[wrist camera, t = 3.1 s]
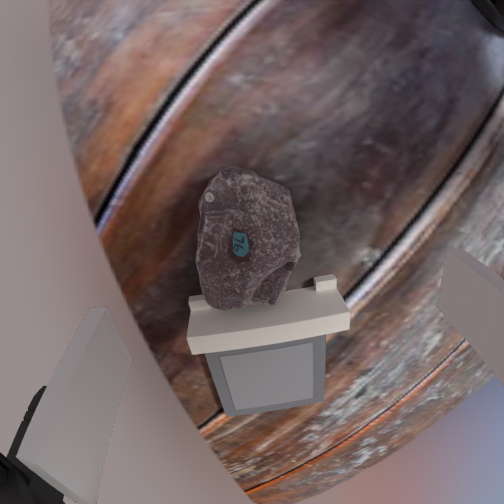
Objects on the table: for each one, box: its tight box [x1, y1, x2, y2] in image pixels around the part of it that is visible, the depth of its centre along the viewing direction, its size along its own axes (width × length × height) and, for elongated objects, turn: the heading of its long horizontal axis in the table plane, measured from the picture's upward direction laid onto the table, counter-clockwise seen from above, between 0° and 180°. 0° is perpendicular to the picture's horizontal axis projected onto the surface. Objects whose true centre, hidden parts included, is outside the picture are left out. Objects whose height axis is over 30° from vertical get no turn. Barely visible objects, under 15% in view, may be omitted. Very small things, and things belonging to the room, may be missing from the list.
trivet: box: [204, 334, 326, 416], centre depth 33 cm, size 13×13×1 cm
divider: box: [186, 274, 350, 355], centre depth 27 cm, size 4×14×5 cm, turn 98°
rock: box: [196, 165, 302, 311], centre depth 24 cm, size 8×11×5 cm
